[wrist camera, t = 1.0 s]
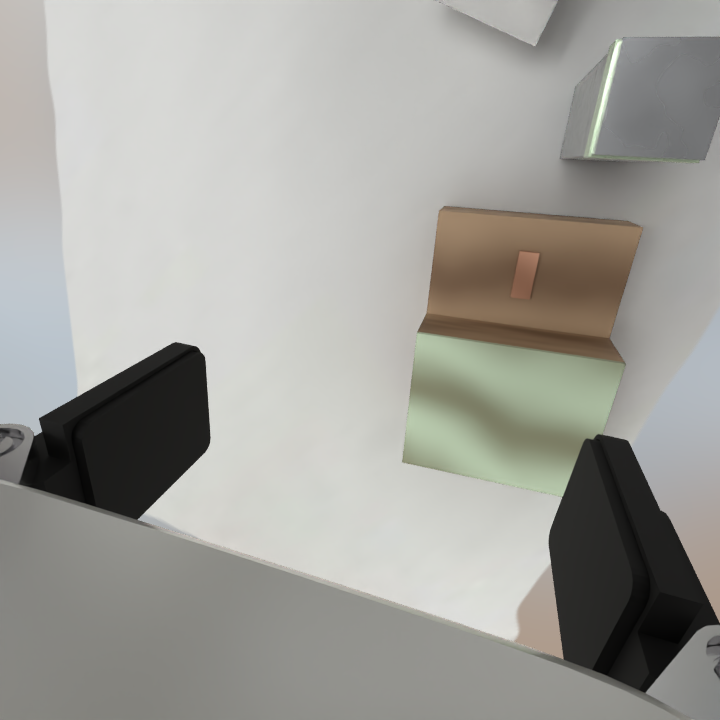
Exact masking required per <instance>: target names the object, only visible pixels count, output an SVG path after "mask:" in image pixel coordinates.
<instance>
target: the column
mask: <svg viewBox="0 0 720 720" xmlns="http://www.w3.org/2000/svg"><path fill="white" fill-rule="evenodd" d="M719 117H720V37H623V38H622V39H616V40H615V42H614V43H613V44H612V45H611V46H610V48H609V52H608V54H607V55H606V56H605V57H604V58H603V59H602V60H601V61H600V62H599V63H598V64H597V65H596V66H595V67H594V68H593V69H592V70H591V71H590V72H589V73H588V74H587V76H586V77H585V78H584V79H583V80H582V81H581V82H580V83H579V84H578V85H577V86H576V87H575V91H574V96H573V100H572V105H571V110H570V114H569V119H568V123H567V128H566V133H565V137H564V142H563V146H562V151H561V156H560V158H562V159H581V160H600V161H618V162H646V161H657V162H676V163H699V161H700V160H705V158H706V155H707V152H708V149H709V146H710V143H711V140H712V137H713V134H714V131H715V129H716V126H717V123H718V120H719Z"/></svg>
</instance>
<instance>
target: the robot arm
mask: <svg viewBox="0 0 720 720" xmlns="http://www.w3.org/2000/svg"><path fill="white" fill-rule="evenodd" d="M39 421H40V425H41V428H42V432H41V433H39V434H38V435H36V436H34V432H33V431H32V430H31V429H30V428H29V427H26V426H24V425H19V424H0V720H720V623H719V621H718V619H717V617H716V615H715V612H714V610H713V608H712V606H711V604H710V602H709V600H708V598H707V596H706V594H705V592H704V590H703V588H702V585H701V583H700V581H699V579H698V577H697V575H696V573H695V571H694V569H693V566H692V564H691V562H690V560H689V558H688V556H687V554H686V552H685V550H684V548H683V546H682V543H681V541H680V540H679V537H678V535H677V533H676V531H675V529H674V527H673V525H672V523H671V521H670V519H669V517H668V516H667V514H666V513H664V512H662V511H660V509H659V506H658V504H657V502H656V500H655V498H654V496H653V494H652V491H651V489H650V487H649V485H648V482H647V480H646V478H645V476H644V474H643V472H642V470H641V467H640V465H639V463H638V461H637V459H636V457H635V455H634V452H633V450H632V448H631V446H630V444H629V442H628V441H627V440H624V439H619V438H614V437H610V436H605V435H601V434H598V435H596V436H595V437H594V439H588V438H587V439H585V440H584V442H583V444H582V447H581V450H580V452H579V455H578V458H577V460H576V463H575V466H574V468H573V471H572V473H571V476H570V479H569V481H568V484H567V487H566V489H565V492H564V495H563V497H562V500H561V503H560V505H559V508H558V511H557V513H556V516H555V519H554V521H553V524H552V527H551V530H550V534H549V551H550V558H551V566H552V573H553V581H554V588H555V596H556V604H557V611H558V619H559V626H560V634H561V641H562V650H563V657H564V660H563V659H561V658H558V657H555V656H552V655H550V654H547V653H544V652H541V651H539V650H536V649H533V648H530V647H527V646H525V645H521V644H518V643H516V642H513V641H510V640H507V639H504V638H501V637H498V636H495V635H492V634H489V633H486V632H483V631H480V630H477V629H474V628H471V627H468V626H465V625H462V624H460V623H456V622H453V621H450V620H447V619H444V618H441V617H438V616H435V615H432V614H429V613H426V612H423V611H420V610H417V609H414V608H410V607H407V606H404V605H401V604H398V603H395V602H392V601H389V600H386V599H383V598H380V597H377V596H374V595H371V594H368V593H364V592H361V591H358V590H355V589H352V588H349V587H346V586H343V585H340V584H337V583H334V582H331V581H328V580H325V579H321V578H318V577H315V576H312V575H309V574H306V573H303V572H300V571H297V570H293V569H290V568H287V567H284V566H281V565H278V564H275V563H272V562H268V561H265V560H262V559H259V558H256V557H253V556H250V555H247V554H243V553H240V552H237V551H234V550H231V549H228V548H225V547H221V546H218V545H215V544H212V543H209V542H206V541H203V540H200V539H196V538H193V537H190V536H187V535H184V534H181V533H177V532H174V531H170V530H168V529H164V528H161V527H158V526H155V525H152V524H149V523H145V522H142V521H139V520H137V519H138V518H140V516H141V515H143V514H144V513H145V512H146V511H147V510H148V509H149V508H150V507H151V506H152V505H153V504H154V503H155V502H156V501H157V500H158V499H159V498H160V497H161V496H162V495H163V494H164V493H165V492H166V491H167V490H168V489H169V488H170V487H171V486H172V485H173V484H174V483H175V482H176V481H177V480H178V479H179V478H180V477H181V476H182V475H183V474H184V473H185V472H186V471H187V470H188V469H189V468H190V467H191V466H192V465H193V464H194V463H195V462H196V461H197V460H198V459H199V458H200V457H201V456H202V455H203V454H204V453H205V452H206V450H207V449H208V447H209V444H210V424H209V408H208V393H207V378H206V362H205V357H204V355H203V354H202V353H201V352H200V350H199V348H198V347H196V346H191V345H187V344H182V343H177V342H175V343H172V344H171V345H169V346H167V347H165V348H163V349H162V350H160V351H158V352H156V353H154V354H153V355H151V356H149V357H147V358H146V359H144V360H142V361H140V362H138V363H137V364H135V365H133V366H131V367H130V368H128V369H126V370H124V371H122V372H121V373H119V374H117V375H115V376H114V377H112V378H110V379H108V380H106V381H105V382H103V383H101V384H99V385H98V386H96V387H94V388H92V389H90V390H89V391H87V392H85V393H83V394H82V395H80V396H78V397H76V398H74V399H73V400H71V401H69V402H67V403H66V404H64V405H62V406H60V407H58V408H57V409H55V410H53V411H51V412H50V413H48V414H46V415H44V416H42V417H41V418H39Z"/></svg>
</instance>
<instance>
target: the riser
mask: <svg viewBox="0 0 720 720" xmlns="http://www.w3.org/2000/svg"><path fill="white" fill-rule="evenodd" d="M642 230H643V227H641V226H638V225H636V224H634V223H631V222H629V221H621V220H609V219H596V218H584V217H571V216H559V215H547V214H534V213H522V212H510V211H497V210H485V209H472V208H460V207H448V206H444V207H443V208H442V209H441V210H439V215H438V223H437V231H436V240H435V248H434V256H433V265H432V273H431V281H430V290H429V298H428V306H427V313H426V316H425V318H424V320H423V322H422V324H421V326H420V328H419V330H418V332H417V336H416V345H415V354H414V363H413V372H412V380H411V389H410V398H409V407H408V416H407V425H406V433H405V442H404V451H403V460H402V462H403V463H408V464H413V465H417V466H422V467H426V468H431V469H436V470H440V471H445V472H449V473H454V474H459V475H463V476H468V477H472V478H477V479H482V480H486V481H491V482H495V483H500V484H505V485H509V486H514V487H518V488H523V489H528V490H532V491H537V492H541V493H546V494H551V495H555V496H560V497H563V495H564V492H565V489H566V487H567V484H568V481H569V479H570V476H571V473H572V471H573V468H574V466H575V463H576V460H577V458H578V455H579V452H580V450H581V447H582V444H583V442H584V440H585V439H587V438H588V439H594V437H595V436H596V435H598V434H601V435H602V434H603V431H604V428H605V425H606V422H607V419H608V416H609V413H610V410H611V407H612V404H613V401H614V398H615V395H616V392H617V389H618V386H619V383H620V380H621V377H622V374H623V371H624V368H625V365H626V364H625V362H624V361H623V359H622V357H621V356H620V354H619V353H618V351H617V350H616V348H615V346H614V345H613V343H612V342H611V340H610V339H609V338H610V334H611V331H612V328H613V325H614V321H615V318H616V315H617V312H618V308H619V305H620V302H621V299H622V295H623V292H624V289H625V286H626V282H627V279H628V276H629V273H630V269H631V266H632V263H633V259H634V256H635V253H636V250H637V246H638V243H639V240H640V237H641V233H642Z"/></svg>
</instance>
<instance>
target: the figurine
mask: <svg viewBox="0 0 720 720" xmlns="http://www.w3.org/2000/svg"><path fill="white" fill-rule="evenodd" d="M435 1H438V2H440V3H442V4H444V5H446V6H448V7H450V8H453V9H455V10H457V11H459V12H461V13H463V14H466V15H468V16H470V17H472V18H474V19H476V20H478V21H481V22H483V23H485V24H487V25H489V26H491V27H493V28H496V29H498V30H500V31H502V32H504V33H506V34H508V35H511V36H513V37H515V38H517V39H519V40H521V41H524V42H526V43H528V44H530V45H532V46H534V47H535V46H536V44H537V42H538V40H539V38H540V36H541V34H542V32H543V30H544V28H545V26H546V24H547V22H548V20H549V18H550V16H551V14H552V12H553V10H554V8H555V6H556V4H557V2H558V0H435Z"/></svg>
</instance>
